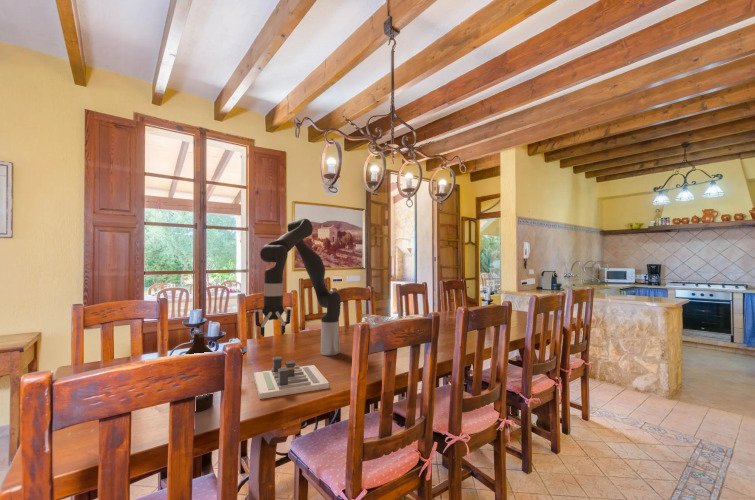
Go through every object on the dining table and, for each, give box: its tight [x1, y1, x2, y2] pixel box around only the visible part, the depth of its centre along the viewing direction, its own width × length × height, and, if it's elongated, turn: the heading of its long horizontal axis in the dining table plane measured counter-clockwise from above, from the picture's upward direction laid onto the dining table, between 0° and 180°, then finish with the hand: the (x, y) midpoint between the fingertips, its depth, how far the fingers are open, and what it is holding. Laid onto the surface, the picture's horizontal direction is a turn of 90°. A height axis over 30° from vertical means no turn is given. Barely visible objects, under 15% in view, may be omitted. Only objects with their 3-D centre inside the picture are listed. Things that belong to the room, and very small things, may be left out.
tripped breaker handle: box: [284, 359, 296, 377], centre depth 139 cm, size 4×4×6 cm
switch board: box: [253, 356, 330, 400], centre depth 139 cm, size 26×24×8 cm
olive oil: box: [184, 332, 214, 413], centre depth 116 cm, size 11×11×25 cm
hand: (272, 335), depth 136 cm, fingers open, 7 cm apart
